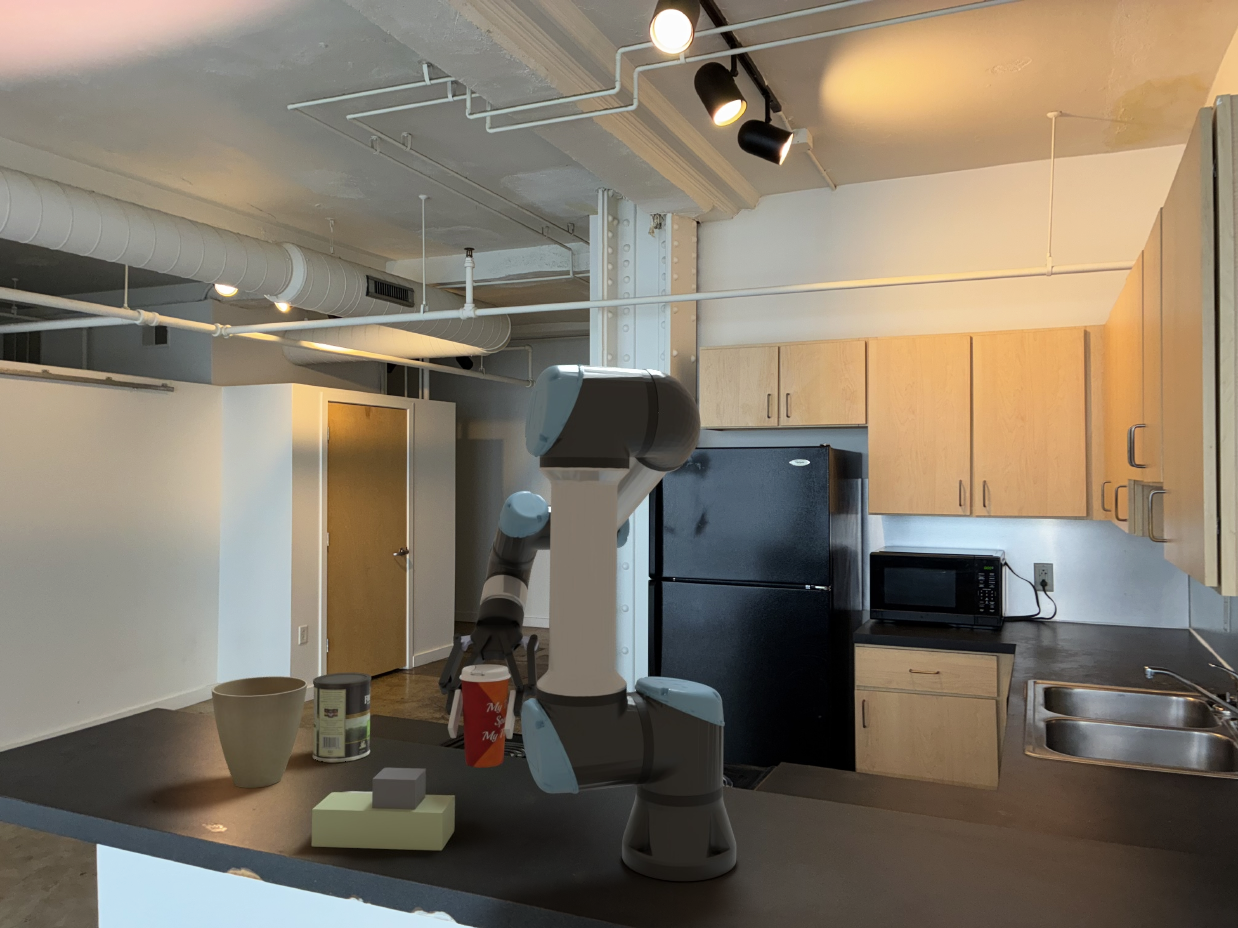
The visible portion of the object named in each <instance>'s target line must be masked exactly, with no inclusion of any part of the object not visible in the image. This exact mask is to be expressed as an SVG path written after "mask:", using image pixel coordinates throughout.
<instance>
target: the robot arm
mask: <svg viewBox="0 0 1238 928" xmlns="http://www.w3.org/2000/svg"><path fill="white" fill-rule="evenodd" d="M524 426H525V428H524V437H525V438H526V439H525V447H526V450H527V452H528V454H530V455H532V456H534V457H536V458H537V457H539V469H538V470H539V471H540V472H541V473H542V474H543V475H544V476H545V477H546V478H547V480H548V481H549V483H550V504H548V503H547V501H546V499H544V498H543V497H542V496H541V495H540V494H535V493H532V492H531V491H528V490H522V491H517V492H514V493H512V494H510V495H509V496H508V497H507V499H506V500H505V502H504V504H503V506H502V509H501V512H500V514H499V517H498V523H497V528H496V530H495V531H496V532H495V537H494V539H493V541H492V544H491V546H490V550H489V554H488V556H489V557H488V558H489V559H488V563H487V568H486V569H487V570H486V575H485V580H484V585H483V589H482V592H481V593H482V594H481V597H480V601H479V608H478V612H477V618H476V622H475V626H474V627H475V628H474V630H473V631H472V632H471V634H470V635H463V636H462V635H461V633H459V632H457V633H455V634H454V635H453V637H452V639H453V640H452V642H453V646H452V648H451V650H450V653H449V656H448V657H447V661H446V663H445V665H444V668H443V670H442V673H441V675H440V678H439V680H438V682H437V683H438V687H439V691H440V692H441V695H444V696H445V695H447V699H446V702H445V703H446V704H445V710H446V713H447V715H448V716H449V721H448V725H447V730H448V734H449V736H450V738H451V739H456V738H457V732H458V730H459V724H460V719H461V714H462V711H463V701H462V680H461V679H460V678H459V677H460V675H462V669H463V668H464V667H467V666H472V665H483V664H485V662H486V661H492V660H497V661H505V663H506V667H507V668H508V671H509V674H510V675H511V677H510V678H511V681H512V683H513V687H514V690H513V689H512V690H510V692H509V699H508V702H507V715H506V722H505V738H506V739H509V740H512V739H513V733H514V729H515V728H514V727H515V721H516V717H520V725H521V735H522V741H523V742H522V743H523V748H524V752H525V758H526V760H527V764H528V768H529V771H530V774H531V776H532V778H533V780H534V782H535V784H536V785H537V786H538V788H539V789H540V790H542V791H543V792H545V793H548V794H566V793H569V794H570V793H572V794H575V795H576V794H578V793H579V792H590V791H596V790H603V789H611V788H612V789H613V788H620V787H621V788H622V787H628V786H635V798H634V801H633V805H632V808H631V810H630V813H629V818H628V820H627V823H626V826H625V830H624V833H623V836H622V843H621V844H622V845H621V850H622V851H621V858H622V860H623V863H624V864H625V865H626V867H628V868H629V869H631V870H632V871H634V872H636V873H638V874H641V875H643V876H646V877H650V878H653V879H657V880H662V881H672V882H673V881H674V882H693V881H694V882H696V881H703V880H710V879H714V878H716V877H720V876H722V875H724V874H726V873H728V872H729V871H731V870H732V869H733V868H734V867H735V865H736V863H737V842H736V839H735V835H734V832H733V828H732V824H731V822H730V818H729V815H728V812H727V809H726V805H725V802H724V727H725V721H724V708H723V700H722V697H721V695H720V693H719V692H718V691H717V689H715V688H713V687H711V686H708V685H706V684H703V683H699V682H697V681H692V680H688V679H681V678H675V677H674V678H673V677H666V676H665V677H664V676H645V677H639V678H637V680H636V682H635V685H634V690H635V691H629V692H628V683H627V680H626V679H625V678H624V677H622V676H621V674H620V673H619V672H618V671H617V669H616V650H617V649H616V641H617V639H616V638H617V637H616V636H617V634H616V633H617V632H616V631H617V619H616V618H617V566H618V565H617V564H618V563H617V562H618V561H617V560H618V558H617V557H618V553H617V552H618V549H619V548H620V549H621V548H622V547H624V546H625V545H626V543H627V542H628V537H629V536H630V530H631V529H630V527H631V526H630V517H631V516H632V514H633V513H634V512H635V511H636V510H637V508H638V507H640V505H641V503H643V501H644V500H645V499H646V498H647V497H648V496H649V494H650V493H651V492H652V491H653V489H654V488H655V487H656V486H657V485H658V484H659V483H660V481H661V480H662V479H663V478H664V476H665V475H666V474H667V473H671V472H674V471H677V470H678V469H680V468H681V467H682V466H683V465H684V464H685V463H686V462H687V460H688V459H689V458H690V457H691V456H692V454H693V452H694V451H695V450H696V447H697V445H698V443H699V439H700V435H701V428H702V427H701V415H700V411H699V407H698V405H697V403H696V401H695V399H694V397H693V395H692V393H691V392H690V391H689V389H687V388H686V386H685V385H684V384H683V383H681V382H680V381H679V380H678V379H676V378H675V377H674V376H671V375H670V374H668V373H666V372H664V371H660V370H655V369H650V368H649V369H647V368H642V369H637V368H636V369H635V368H627V367H614V366H613V367H612V366H604V365H603V366H601V365H589V364H588V365H587V364H580V363H579V364H561V365H560V364H557V365H550V366H549V367H547V368H545V369H544V370H543V371H542V372H541V373H540V374H539V376H538V377H537V379H536V381H535V383H534V386H533V389H532V391H531V393H530V397H529V402H528V406H527V411H526V418H525V425H524ZM538 551H549V615H548V616H549V617H548V669H547V670H546V672H545V673H544V674H543V675H542V676H541V677H540V678H539V679H538V674H537V673H538V671H537V653H538V650H539V649H540V644H539V643H540V642H539V637H538V635H537V634H535V633H534V634H531V635H529V636H526V635H523V632H522V630H523V626H524V618H525V612H526V604H527V599H528V593H529V584H530V578H531V573H532V569H533V565H534V561H535V558H536V557H537V554H538ZM471 644H472V646H473V648H472V651H471V653H470V655H469V656H468V658H467V660H466V661H465V663H463V666H462V667H461V668H460V670H459V667H460V665H461V662H462V659H463V657H464V652H466V651H467V649H468V647H469V645H471ZM522 645H523V649H524V651H526V662H527V664H526V666H527V668H526V669H527V683H524V682H523V680H522V677H521V674H520V672H519V668H518V665H517V663H516V659H515V656H514V653H515V652H516V651H517V650H518V649H519V648H520V647H521V646H522ZM458 670H459V671H458ZM457 672H458V673H457ZM529 696H532V697H531V698H529V699H528V700H525V699H526V698H527V697H529ZM534 697H535V698H534Z"/></svg>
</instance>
